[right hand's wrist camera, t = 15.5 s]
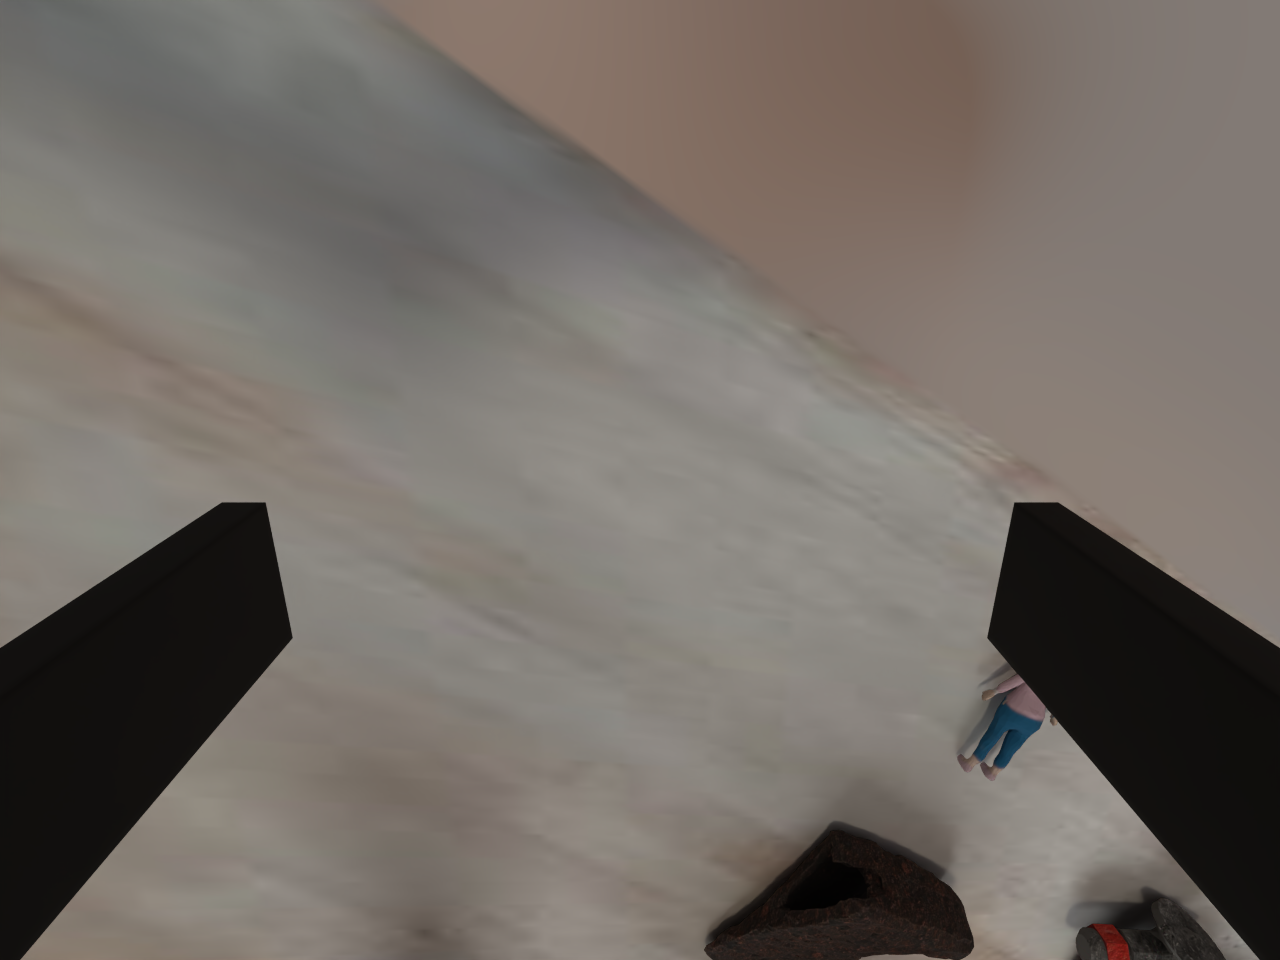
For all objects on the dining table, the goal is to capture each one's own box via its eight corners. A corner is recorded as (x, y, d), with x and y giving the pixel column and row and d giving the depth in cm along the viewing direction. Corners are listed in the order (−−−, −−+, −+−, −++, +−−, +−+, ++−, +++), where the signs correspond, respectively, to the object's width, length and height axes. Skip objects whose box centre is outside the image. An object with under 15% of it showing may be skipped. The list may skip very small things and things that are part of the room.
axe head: (854, 1042, 60) (706, 1041, 55) (822, 940, 66) (687, 931, 61) (999, 944, 51) (839, 932, 46) (945, 837, 58) (800, 816, 52)
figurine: (998, 764, 53) (1122, 613, 48) (1027, 812, 49) (1165, 654, 44) (931, 740, 53) (1049, 585, 47) (954, 787, 49) (1086, 623, 43)
